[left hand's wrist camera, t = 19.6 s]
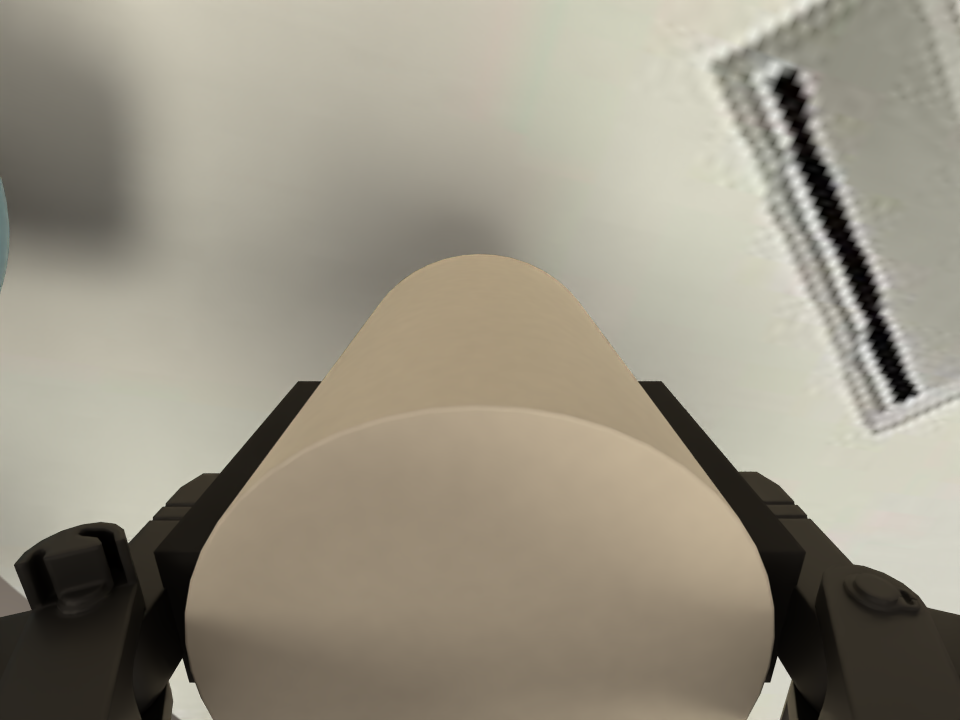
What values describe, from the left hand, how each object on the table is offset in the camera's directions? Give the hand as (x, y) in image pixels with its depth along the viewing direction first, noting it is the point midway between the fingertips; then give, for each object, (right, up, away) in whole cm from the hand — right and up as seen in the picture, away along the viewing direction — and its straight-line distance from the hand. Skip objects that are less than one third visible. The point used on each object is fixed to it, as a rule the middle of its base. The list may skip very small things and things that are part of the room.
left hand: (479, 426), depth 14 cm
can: (0, +1, +3) cm, 4 cm away
